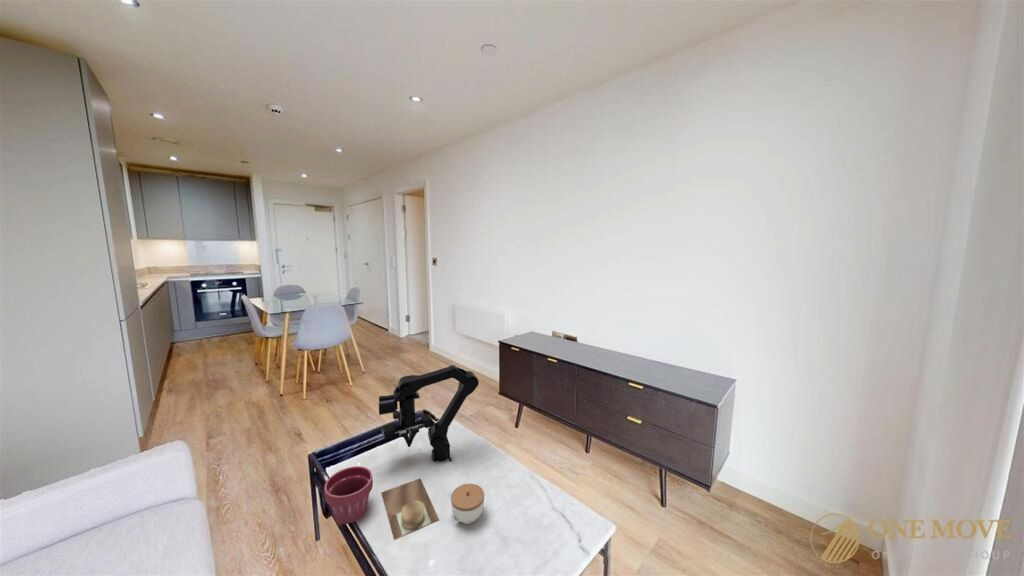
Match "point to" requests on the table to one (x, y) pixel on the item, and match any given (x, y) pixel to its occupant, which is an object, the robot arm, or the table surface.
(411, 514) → the oak puck
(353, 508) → the plant pot
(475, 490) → the lidded jar
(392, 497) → the walnut board
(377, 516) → the table surface
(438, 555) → the table surface
